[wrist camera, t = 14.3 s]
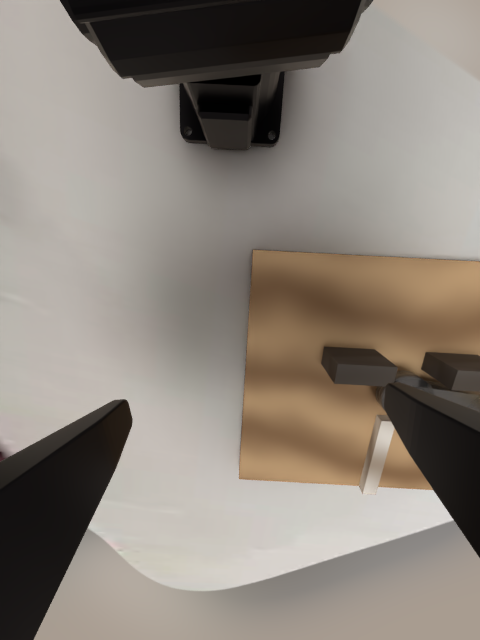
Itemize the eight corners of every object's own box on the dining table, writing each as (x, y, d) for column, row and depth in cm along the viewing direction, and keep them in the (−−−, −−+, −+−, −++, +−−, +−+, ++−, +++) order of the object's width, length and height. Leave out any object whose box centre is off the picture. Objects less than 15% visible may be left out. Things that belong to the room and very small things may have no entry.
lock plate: (252, 249, 18) (255, 250, 14) (555, 265, 18) (650, 270, 14) (239, 465, 24) (238, 512, 20) (467, 478, 24) (514, 527, 20)
